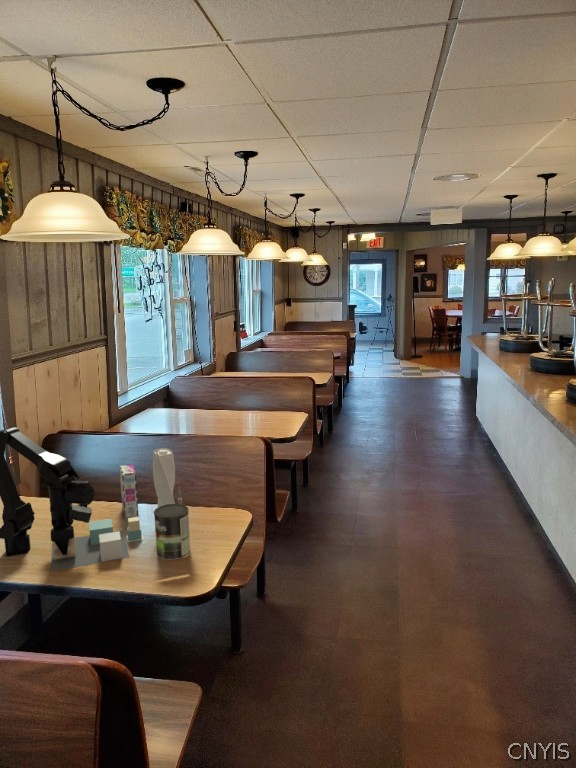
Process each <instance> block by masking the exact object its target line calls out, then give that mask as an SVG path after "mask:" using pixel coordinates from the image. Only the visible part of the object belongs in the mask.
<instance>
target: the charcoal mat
mask: <svg viewBox="0 0 576 768" xmlns="http://www.w3.org/2000/svg"><path fill="white" fill-rule="evenodd" d="M118 531H119V532H120V537H121V546H122V558H119V559H114V560H108V561H101V554H100V544H97V545H91V541H90V534H89V535H83V536H75V545H76V556H72V557H66V558H61V559H54V550H53V542H52V541H51V558H50V572H57V571H62V570H67V569H74V568H80V567H85V566H89V565H96V564H101V563H102V564H103V563H106V562H112V561H118V560H119V561H120V560H123V559H127V558H128V559H129V558H130V553H129V549H128V544H127V539H126V537H125V536H126V535H125V531H124V529H120V530H113V532H118Z"/></svg>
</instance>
